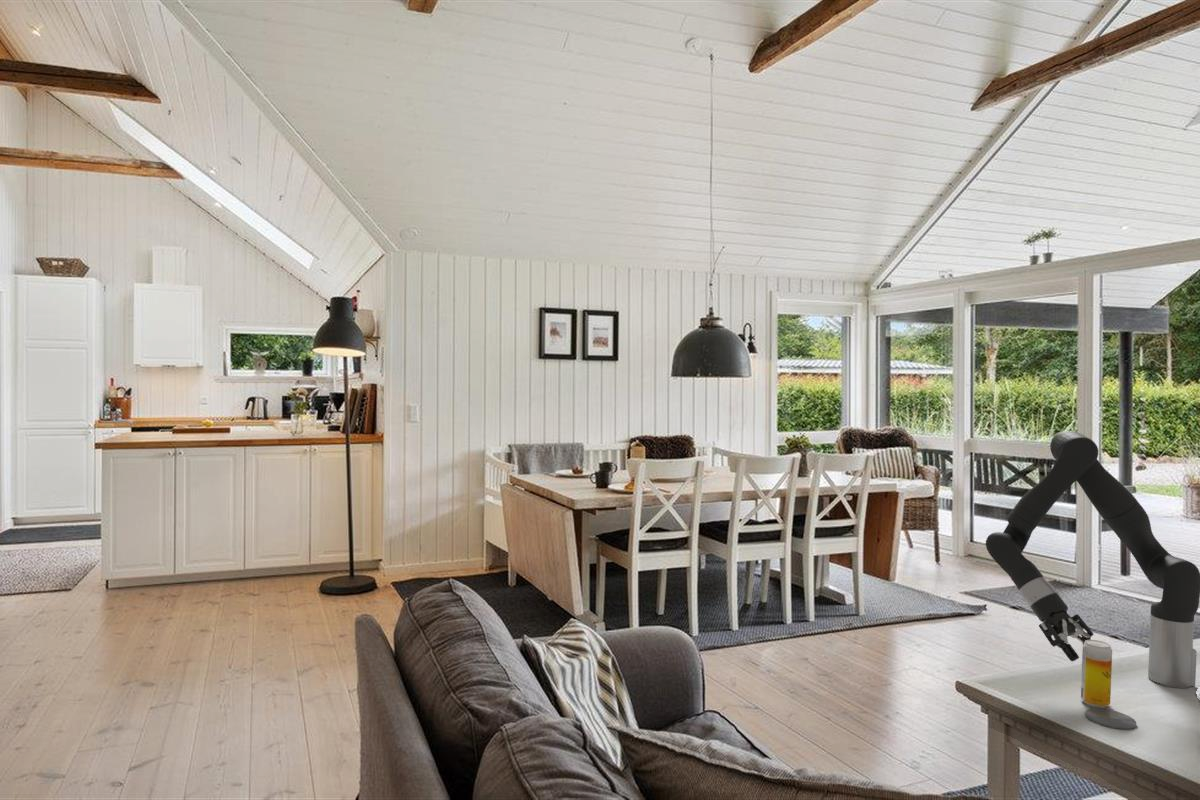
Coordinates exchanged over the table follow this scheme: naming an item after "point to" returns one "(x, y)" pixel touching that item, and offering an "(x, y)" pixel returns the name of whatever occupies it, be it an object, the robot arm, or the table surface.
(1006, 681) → the table surface
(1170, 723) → the table surface
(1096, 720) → the slate coaster
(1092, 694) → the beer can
